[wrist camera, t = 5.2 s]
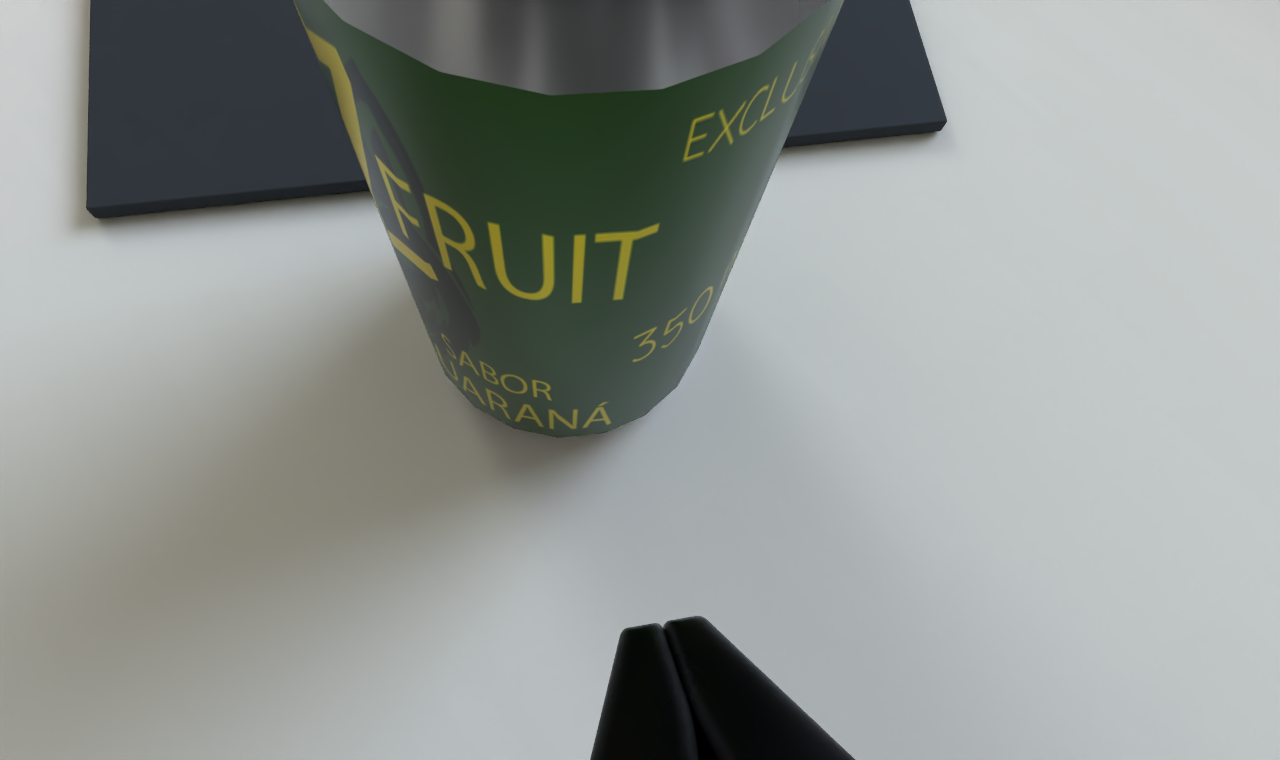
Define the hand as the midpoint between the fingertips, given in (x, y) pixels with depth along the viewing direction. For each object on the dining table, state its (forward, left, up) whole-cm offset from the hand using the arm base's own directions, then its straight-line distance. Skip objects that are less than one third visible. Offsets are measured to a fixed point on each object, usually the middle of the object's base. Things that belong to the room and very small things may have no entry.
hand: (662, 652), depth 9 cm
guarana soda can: (+5, +5, -7) cm, 10 cm away
